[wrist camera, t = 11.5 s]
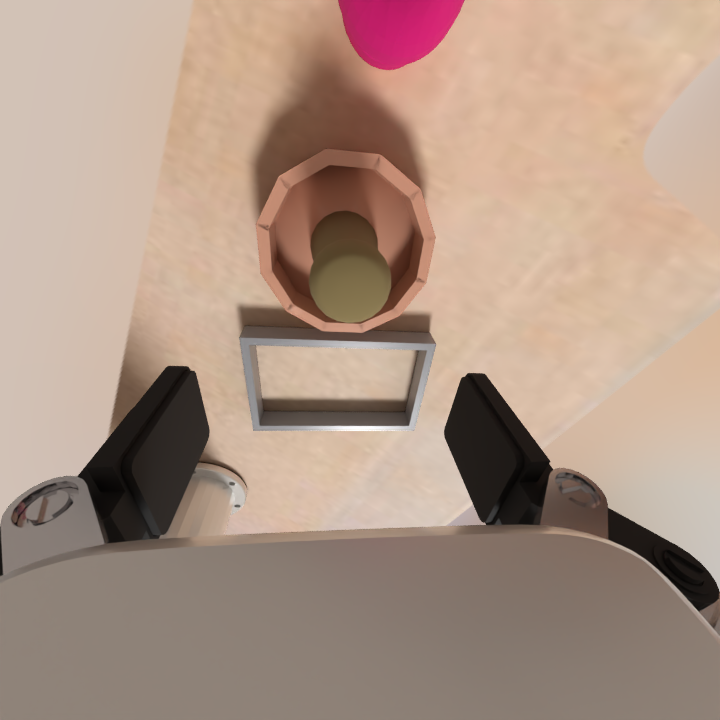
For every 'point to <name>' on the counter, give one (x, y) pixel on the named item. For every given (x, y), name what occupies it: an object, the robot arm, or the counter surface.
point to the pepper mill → (397, 28)
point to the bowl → (344, 193)
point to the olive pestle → (348, 268)
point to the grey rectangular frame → (334, 340)
